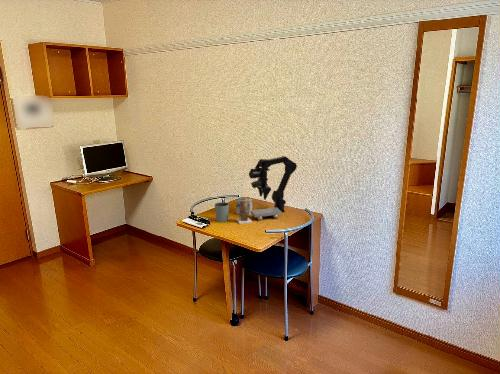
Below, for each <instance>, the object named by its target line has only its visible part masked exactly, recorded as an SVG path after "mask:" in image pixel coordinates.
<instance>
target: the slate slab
mask: <svg viewBox="0 0 500 374" xmlns="http://www.w3.org/2000/svg"><path fill="white" fill-rule="evenodd" d="M282 213H283V212H282V211H280V210H279V209H278V208H277V207H276V208H274V207H268V208H260V209H258V208H257V209H252V210H251V214H250V215H252V216H253V217H254V218H256V219H257V220H258V221H259V222H262V221H263V217H268V216H272V217H273V218H274V219H275V220H278V219H279V215H282Z"/></svg>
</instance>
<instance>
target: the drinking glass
mask: <svg viewBox="0 0 500 374" xmlns="http://www.w3.org/2000/svg"><path fill="white" fill-rule="evenodd" d="M229 209H230V203H228V202H222V201H218V202H215V203H214V213H215V221H216V222H218V223H227V222H228V221H229Z"/></svg>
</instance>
